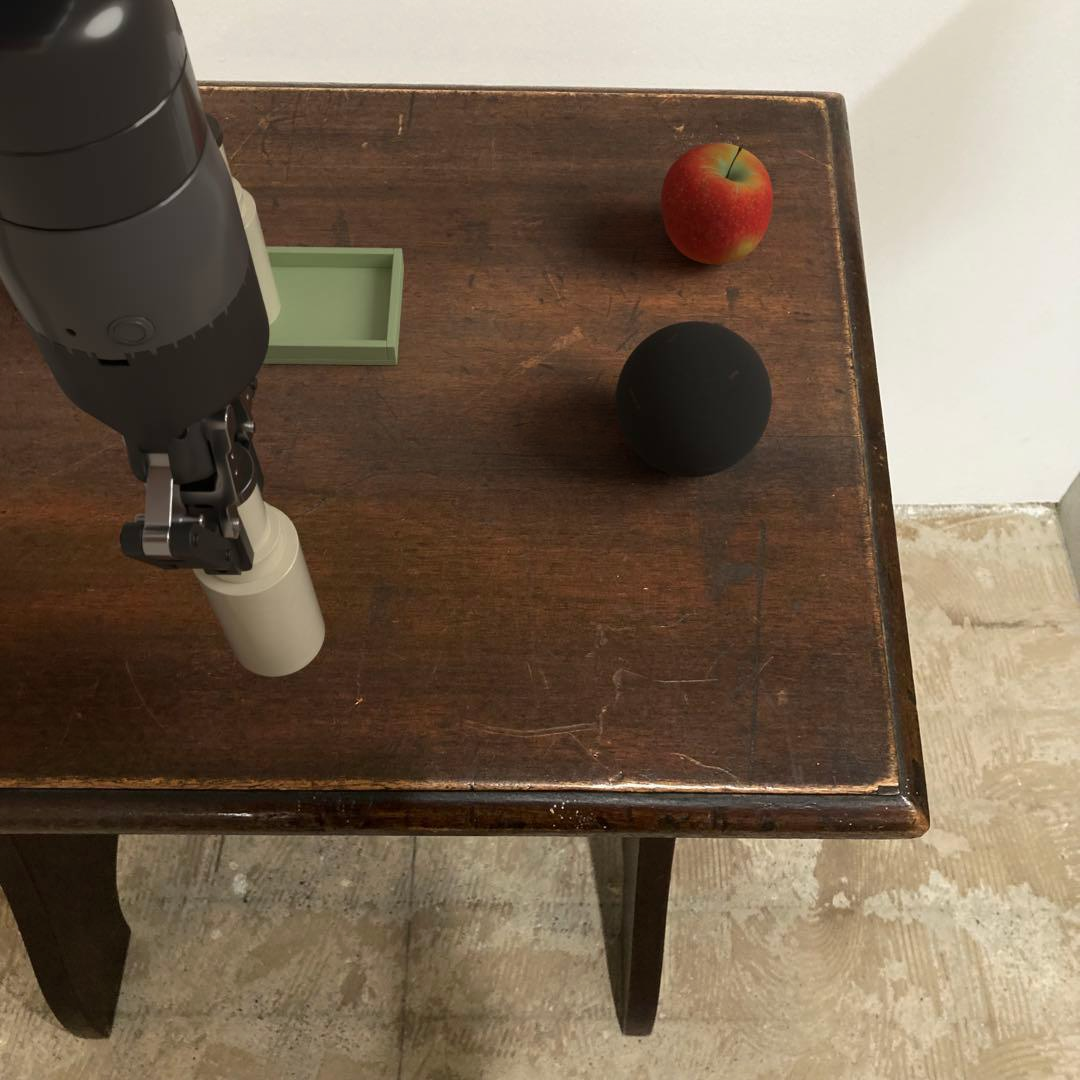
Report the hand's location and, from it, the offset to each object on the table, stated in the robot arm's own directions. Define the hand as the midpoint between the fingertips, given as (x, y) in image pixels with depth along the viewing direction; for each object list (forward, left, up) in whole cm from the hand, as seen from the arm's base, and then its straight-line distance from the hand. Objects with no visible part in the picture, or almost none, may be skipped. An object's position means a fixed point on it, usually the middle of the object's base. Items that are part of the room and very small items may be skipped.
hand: (235, 525), depth 51 cm
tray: (-7, +30, -20) cm, 36 cm away
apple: (+27, +37, -20) cm, 50 cm away
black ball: (+24, +19, -20) cm, 37 cm away
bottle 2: (0, 0, -11) cm, 11 cm away
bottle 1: (-7, +30, -20) cm, 36 cm away
